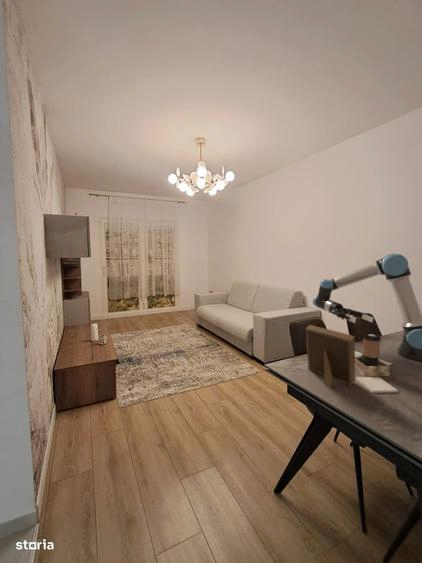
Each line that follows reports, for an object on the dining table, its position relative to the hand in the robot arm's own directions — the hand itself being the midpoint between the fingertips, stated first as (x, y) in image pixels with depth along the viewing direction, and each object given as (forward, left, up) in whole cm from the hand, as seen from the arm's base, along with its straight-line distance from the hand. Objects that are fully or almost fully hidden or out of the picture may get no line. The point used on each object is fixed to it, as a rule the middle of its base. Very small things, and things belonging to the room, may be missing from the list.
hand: (364, 320), depth 141 cm
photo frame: (+28, +15, -26) cm, 41 cm away
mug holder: (0, +7, -25) cm, 26 cm away
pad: (+7, +22, -25) cm, 34 cm away
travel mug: (0, +7, -26) cm, 27 cm away
